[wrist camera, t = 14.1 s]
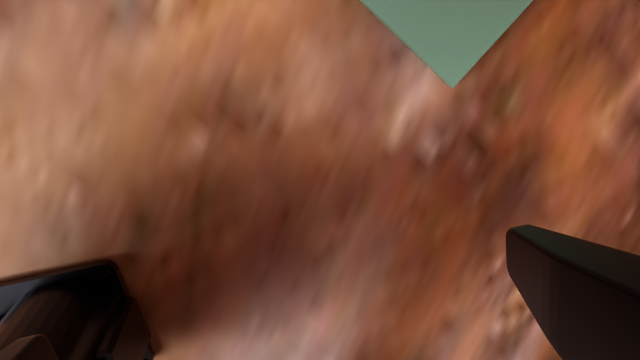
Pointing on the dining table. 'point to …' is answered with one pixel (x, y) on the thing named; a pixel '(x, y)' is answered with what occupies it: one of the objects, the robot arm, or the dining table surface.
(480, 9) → the circuit board
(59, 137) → the dining table surface
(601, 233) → the dining table surface
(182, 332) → the dining table surface
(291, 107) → the dining table surface
